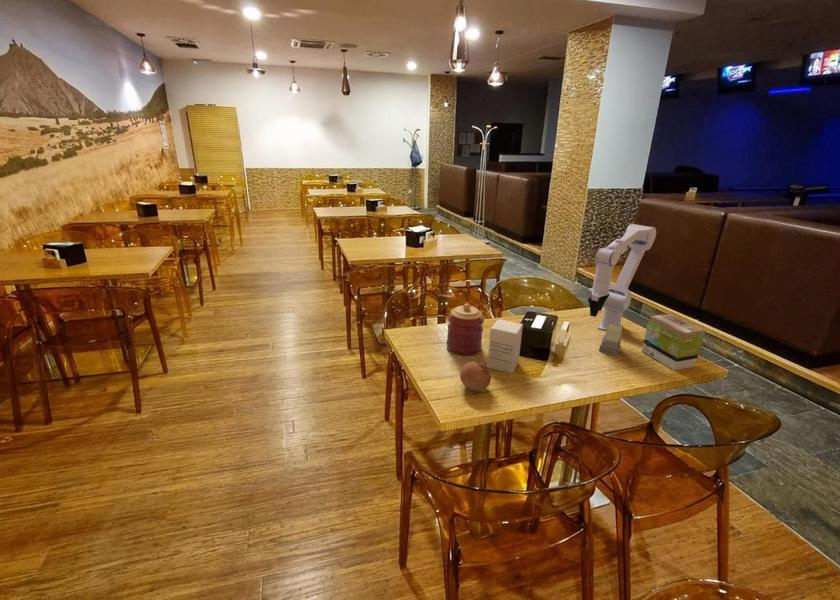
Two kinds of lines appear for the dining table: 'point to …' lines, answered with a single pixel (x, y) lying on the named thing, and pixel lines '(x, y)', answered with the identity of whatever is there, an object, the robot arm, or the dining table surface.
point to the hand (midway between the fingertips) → (595, 313)
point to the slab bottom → (609, 350)
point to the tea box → (673, 341)
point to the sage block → (613, 333)
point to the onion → (475, 376)
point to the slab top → (610, 344)
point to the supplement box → (504, 346)
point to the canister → (465, 330)
